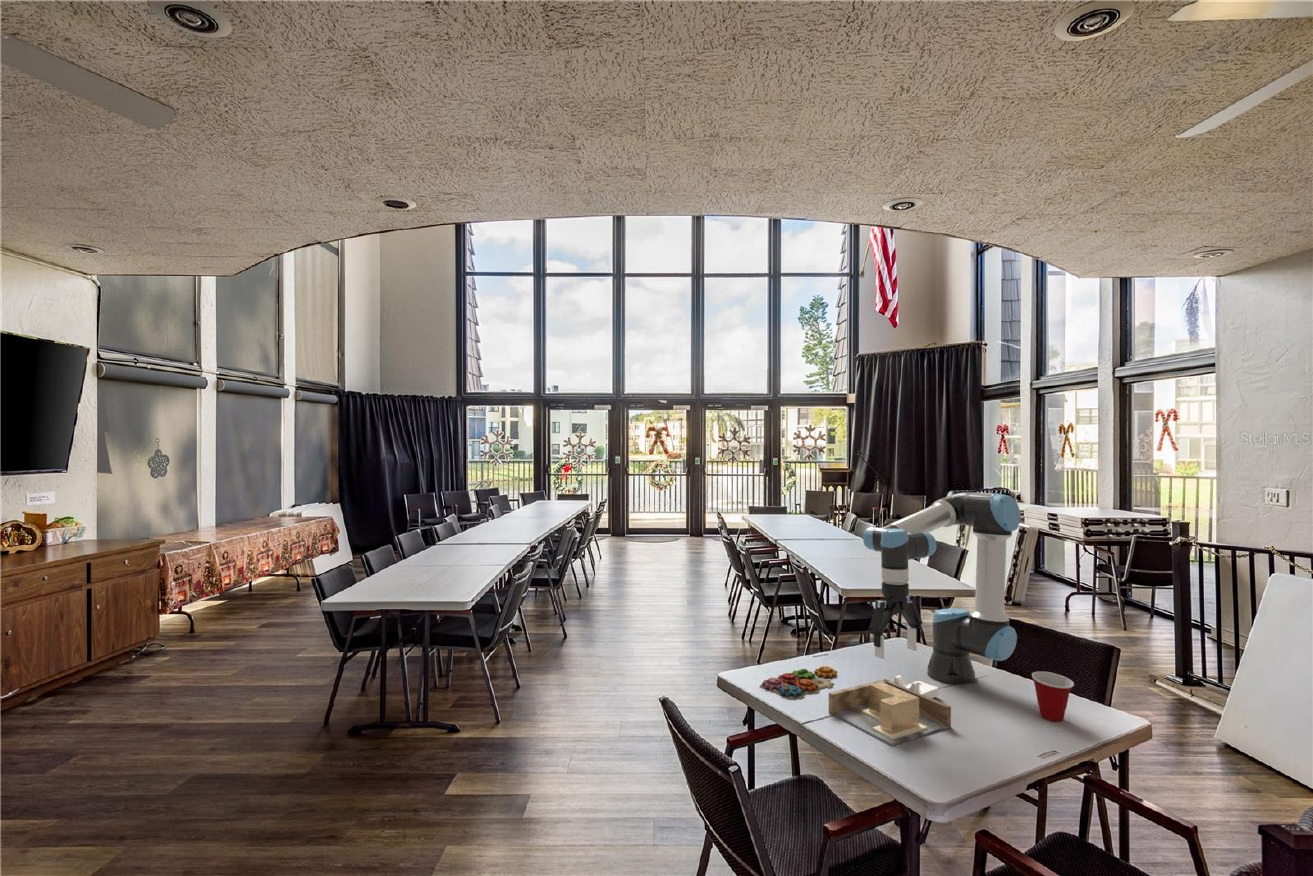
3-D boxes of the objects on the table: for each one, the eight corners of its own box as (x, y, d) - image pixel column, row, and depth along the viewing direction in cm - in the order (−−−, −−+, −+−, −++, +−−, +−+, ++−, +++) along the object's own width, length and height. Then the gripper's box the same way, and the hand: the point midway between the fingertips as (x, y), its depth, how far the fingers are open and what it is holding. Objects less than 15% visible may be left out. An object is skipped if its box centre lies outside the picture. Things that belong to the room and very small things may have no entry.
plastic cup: (1063, 729, 184) (1063, 687, 184) (1024, 716, 193) (1024, 676, 193) (1081, 720, 190) (1081, 679, 190) (1042, 707, 199) (1042, 668, 199)
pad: (880, 707, 198) (880, 705, 198) (927, 729, 183) (927, 727, 183) (846, 716, 192) (846, 714, 192) (892, 739, 177) (892, 737, 177)
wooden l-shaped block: (919, 726, 184) (919, 697, 184) (891, 734, 179) (891, 705, 179) (881, 708, 196) (881, 681, 196) (854, 715, 191) (854, 688, 191)
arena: (885, 698, 207) (885, 679, 207) (950, 727, 186) (950, 706, 186) (828, 712, 196) (828, 692, 196) (891, 745, 174) (891, 723, 174)
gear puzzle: (817, 668, 235) (817, 657, 236) (854, 681, 223) (854, 669, 223) (757, 688, 217) (757, 675, 217) (794, 703, 204) (794, 690, 204)
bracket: (914, 708, 200) (914, 683, 200) (894, 700, 205) (894, 676, 205) (938, 698, 207) (938, 675, 207) (918, 691, 213) (918, 668, 213)
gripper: (913, 574, 200) (914, 642, 200) (854, 584, 189) (855, 657, 189) (934, 579, 194) (935, 649, 194) (874, 589, 182) (875, 665, 182)
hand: (896, 653), depth 191 cm, fingers open, 13 cm apart
